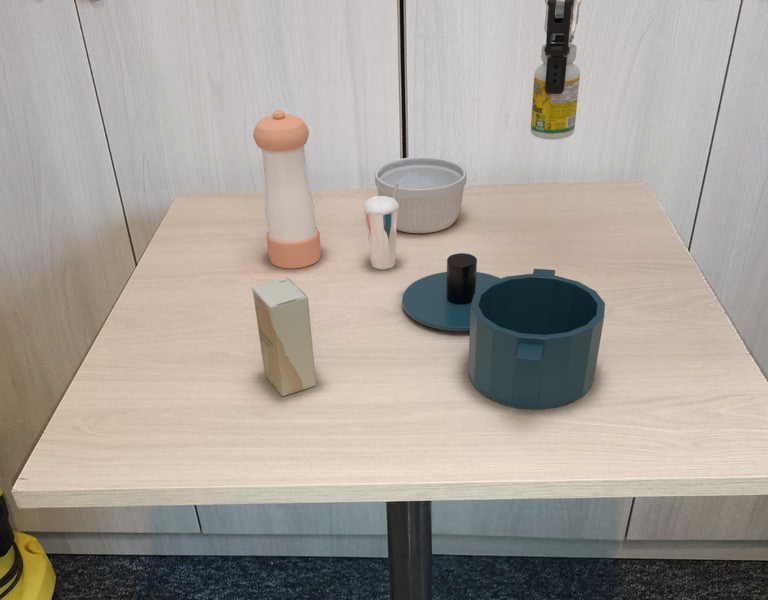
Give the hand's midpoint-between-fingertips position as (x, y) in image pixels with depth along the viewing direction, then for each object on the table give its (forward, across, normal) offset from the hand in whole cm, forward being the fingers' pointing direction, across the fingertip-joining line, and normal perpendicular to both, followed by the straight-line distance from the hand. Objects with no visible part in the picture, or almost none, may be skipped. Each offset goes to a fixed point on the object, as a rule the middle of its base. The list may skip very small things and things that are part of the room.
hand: (556, 84), depth 97 cm
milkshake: (+21, -6, +21) cm, 30 cm away
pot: (+21, -30, -2) cm, 37 cm away
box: (+21, -36, +24) cm, 49 cm away
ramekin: (+21, +9, +19) cm, 30 cm away
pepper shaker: (+21, -6, +34) cm, 40 cm away
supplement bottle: (+6, 0, 0) cm, 6 cm away
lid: (+21, -16, +9) cm, 28 cm away
